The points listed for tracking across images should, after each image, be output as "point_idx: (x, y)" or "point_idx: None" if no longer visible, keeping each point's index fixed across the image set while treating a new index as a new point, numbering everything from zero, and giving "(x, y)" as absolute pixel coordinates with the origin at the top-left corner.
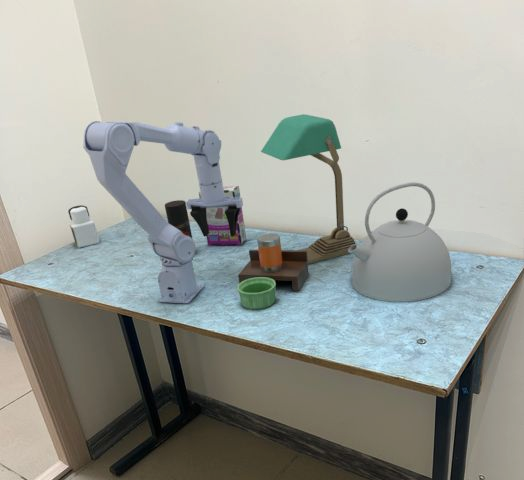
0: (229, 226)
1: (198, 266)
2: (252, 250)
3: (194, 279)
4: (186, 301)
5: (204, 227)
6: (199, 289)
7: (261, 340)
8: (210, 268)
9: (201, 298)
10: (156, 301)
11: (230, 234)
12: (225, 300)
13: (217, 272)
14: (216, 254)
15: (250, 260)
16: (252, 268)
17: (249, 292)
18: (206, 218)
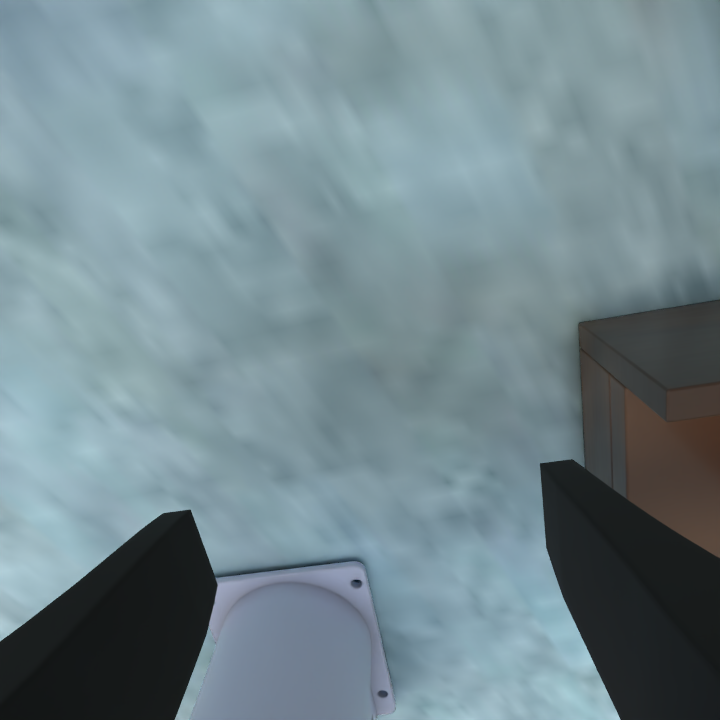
0: (618, 697)
1: (115, 312)
2: (699, 405)
3: (365, 687)
4: (386, 712)
5: (165, 670)
6: (371, 609)
7: None
8: (224, 322)
9: (424, 649)
10: None
11: (556, 575)
12: (560, 643)
13: (316, 368)
14: (75, 49)
15: (629, 390)
16: (701, 513)
17: None
18: (58, 663)
